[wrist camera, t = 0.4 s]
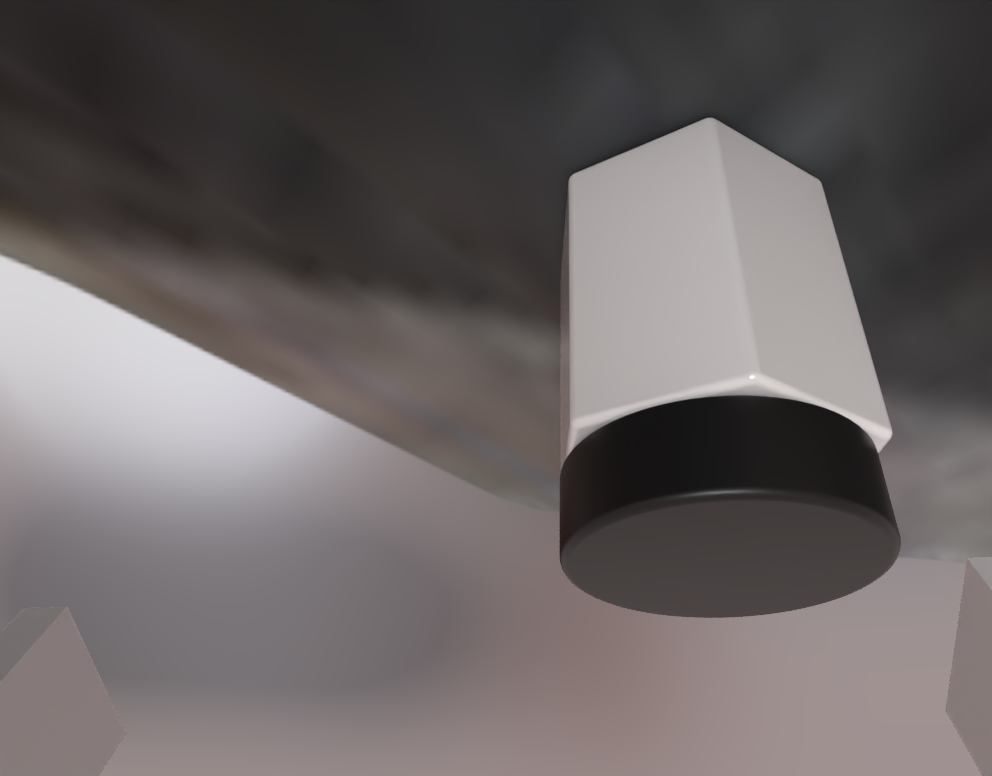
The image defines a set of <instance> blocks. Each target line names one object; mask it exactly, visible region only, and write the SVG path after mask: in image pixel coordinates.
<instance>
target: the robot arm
mask: <svg viewBox="0 0 992 776" xmlns="http://www.w3.org/2000/svg"><path fill="white" fill-rule="evenodd" d="M946 712H947V714H948V715H949V717H950V719H951V721H952V723H953V724H954V726H955V728H956V730H957V732H958V733H959V735H960V737H961V739H962V741H963V742H964V744H965V746H966V748H967V750H968V751H969V753H970V755H971V756H972V758H973V760H974V762H975V764H976V766H977V767H978V769H979V771H980V772H981V774H982V776H992V557H980V558H967V563H966V570H965V577H964V584H963V592H962V599H961V605H960V612H959V620H958V627H957V634H956V641H955V648H954V655H953V662H952V669H951V676H950V684H949V690H948V698H947V704H946ZM125 734H126V732H125V730H124V728H123V726H122V724H121V721H120V719H119V717H118V715H117V713H116V710H115V708H114V706H113V704H112V702H111V700H110V698H109V695H108V693H107V691H106V689H105V687H104V685H103V682H102V680H101V678H100V676H99V674H98V672H97V669H96V667H95V665H94V663H93V661H92V659H91V657H90V654H89V652H88V650H87V648H86V646H85V643H84V642H83V639H82V637H81V635H80V633H79V631H78V628H77V626H76V624H75V622H74V620H73V618H72V615H71V614H70V611H69V609H68V607H67V606H63V607H44V608H24V609H22V610H21V611H20V612H19V613H18V614H17V615H16V616H15V617H14V619H13V620H12V621H11V622H10V623H9V624H8V625H7V626H6V627H5V628H4V629H3V630H2V631H1V632H0V776H99V775H100V773H101V772H102V770H103V769H104V767H105V765H106V764H107V762H108V761H109V759H110V758H111V756H112V754H113V753H114V751H115V750H116V748H117V747H118V745H119V743H120V742H121V740H122V739H123V737H124V736H125Z"/></svg>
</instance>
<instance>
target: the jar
mask: <svg viewBox="0 0 992 776" xmlns="http://www.w3.org/2000/svg"><path fill="white" fill-rule="evenodd" d="M891 437H892V427H891V424H890V420H889V417H888V413H887V410H886V406H885V403H884V399H883V396H882V392H881V389H880V385H879V382H878V378H877V375H876V371H875V368H874V364H873V361H872V357H871V354H870V350H869V347H868V343H867V340H866V336H865V333H864V329H863V326H862V322H861V319H860V315H859V312H858V308H857V305H856V301H855V298H854V294H853V291H852V287H851V284H850V280H849V277H848V273H847V270H846V266H845V263H844V259H843V256H842V252H841V249H840V245H839V242H838V238H837V235H836V231H835V228H834V224H833V221H832V217H831V214H830V210H829V207H828V203H827V200H826V196H825V193H824V189H823V186H822V183H821V182H820V180H819V179H817V178H815V177H814V176H812V175H810V174H808V173H807V172H805V171H803V170H802V169H800V168H798V167H797V166H795V165H793V164H791V163H790V162H788V161H786V160H785V159H783V158H781V157H779V156H778V155H776V154H774V153H773V152H771V151H769V150H768V149H766V148H764V147H762V146H761V145H759V144H757V143H756V142H754V141H752V140H750V139H749V138H747V137H745V136H744V135H742V134H740V133H739V132H737V131H735V130H733V129H732V128H730V127H728V126H727V125H725V124H723V123H722V122H720V121H718V120H716V119H715V118H710V117H709V118H705V119H703V120H700V121H698V122H696V123H693V124H691V125H688V126H686V127H684V128H681V129H679V130H676V131H674V132H672V133H669V134H667V135H665V136H662V137H660V138H657V139H655V140H653V141H650V142H648V143H645V144H643V145H641V146H638V147H636V148H634V149H631V150H629V151H626V152H624V153H622V154H619V155H617V156H614V157H612V158H610V159H607V160H605V161H603V162H600V163H598V164H595V165H593V166H591V167H588V168H586V169H583V170H581V171H579V172H576V173H574V174H573V175H572V176H571V177H570V179H569V182H568V193H567V205H566V217H565V229H564V241H563V253H562V265H561V373H560V563H561V566H562V569H563V571H564V573H565V574H566V576H567V577H568V578H569V580H570V581H571V582H572V583H573V584H574V585H576V586H577V587H578V588H579V589H581V590H582V591H584V592H586V593H588V594H590V595H591V596H593V597H595V598H597V599H600V600H602V601H605V602H607V603H611V604H613V605H616V606H620V607H623V608H627V609H632V610H636V611H641V612H647V613H654V614H661V615H669V616H682V617H704V618H705V617H706V618H713V617H714V618H715V617H718V618H721V617H743V616H755V615H765V614H772V613H779V612H785V611H791V610H796V609H801V608H806V607H810V606H814V605H818V604H822V603H825V602H828V601H832V600H835V599H838V598H841V597H843V596H846V595H848V594H851V593H853V592H855V591H857V590H859V589H862V588H863V587H865V586H867V585H869V584H870V583H872V582H873V581H875V580H877V579H878V578H880V577H881V576H882V575H883V574H884V573H885V572H887V571H888V570H889V569H890V568H891V566H892V565H893V564H894V562H895V560H896V559H897V557H898V554H899V552H900V545H901V540H900V534H899V530H898V527H897V523H896V519H895V516H894V512H893V508H892V504H891V501H890V497H889V493H888V489H887V486H886V482H885V478H884V474H883V471H882V467H881V463H880V460H879V456H878V453H879V452H880V451H881V450H882V449H883V447H884V446H885V445H886V444H887V442H888V441H889V440H890V439H891Z"/></svg>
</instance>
